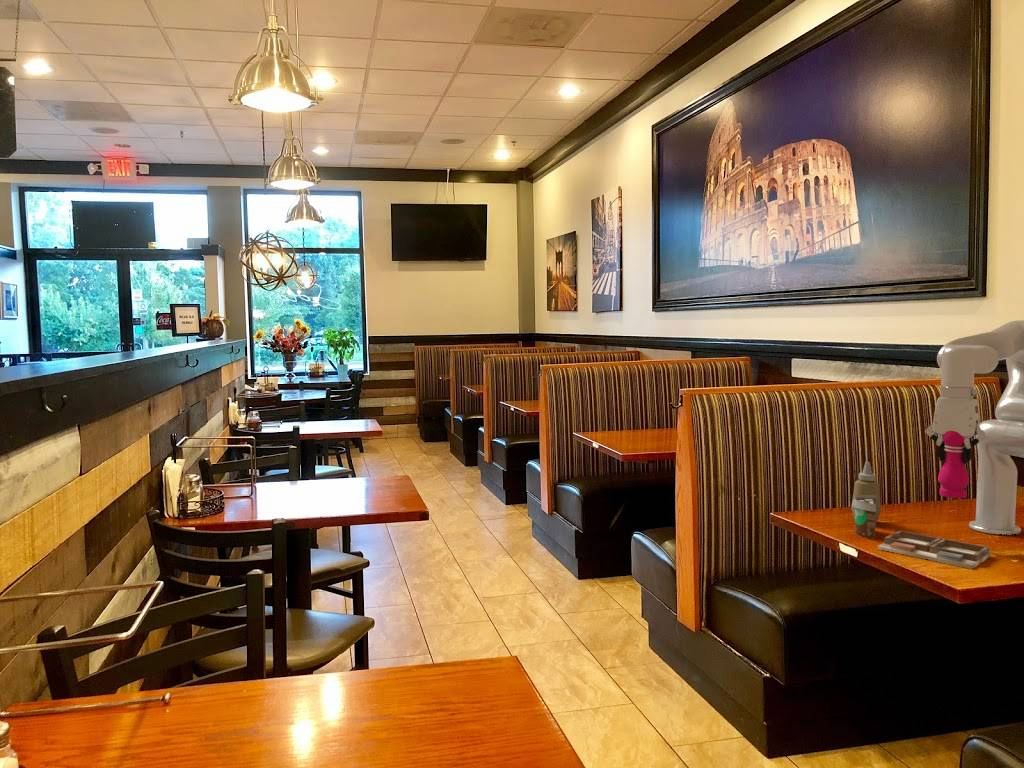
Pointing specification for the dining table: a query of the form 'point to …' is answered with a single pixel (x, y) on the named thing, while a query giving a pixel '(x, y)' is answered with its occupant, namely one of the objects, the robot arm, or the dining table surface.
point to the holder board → (936, 549)
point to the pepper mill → (953, 467)
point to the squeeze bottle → (867, 487)
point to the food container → (865, 515)
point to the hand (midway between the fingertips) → (954, 460)
